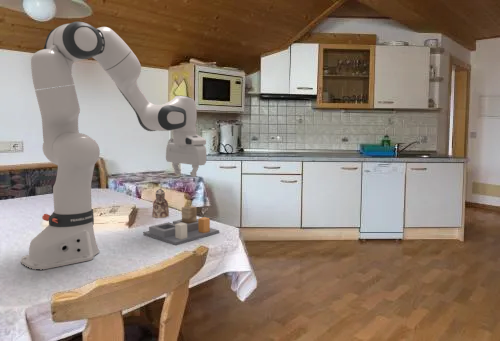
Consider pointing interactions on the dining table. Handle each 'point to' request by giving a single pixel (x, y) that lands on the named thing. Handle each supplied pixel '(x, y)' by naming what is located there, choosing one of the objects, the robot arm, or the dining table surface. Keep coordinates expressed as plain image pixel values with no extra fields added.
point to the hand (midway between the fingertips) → (185, 175)
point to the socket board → (189, 234)
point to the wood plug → (189, 214)
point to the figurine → (160, 205)
